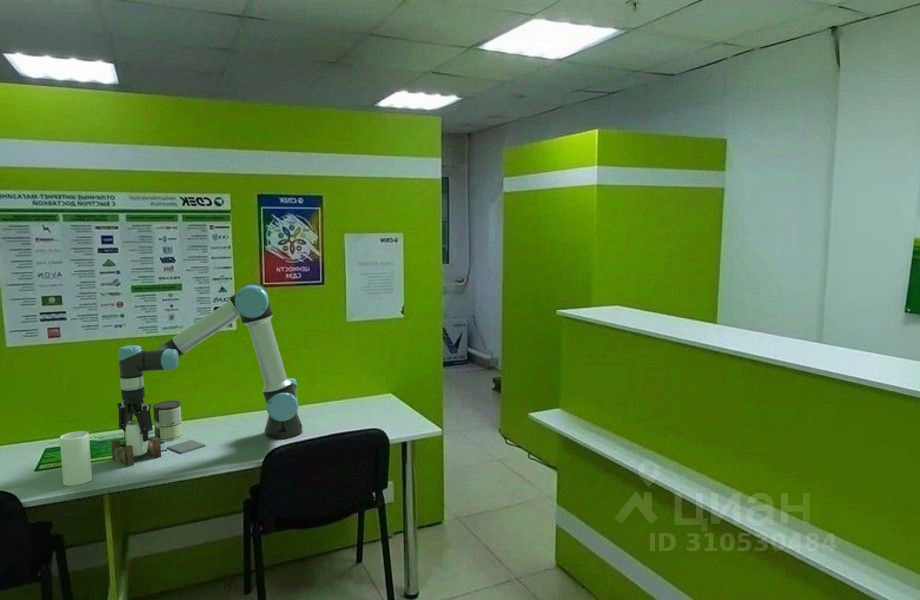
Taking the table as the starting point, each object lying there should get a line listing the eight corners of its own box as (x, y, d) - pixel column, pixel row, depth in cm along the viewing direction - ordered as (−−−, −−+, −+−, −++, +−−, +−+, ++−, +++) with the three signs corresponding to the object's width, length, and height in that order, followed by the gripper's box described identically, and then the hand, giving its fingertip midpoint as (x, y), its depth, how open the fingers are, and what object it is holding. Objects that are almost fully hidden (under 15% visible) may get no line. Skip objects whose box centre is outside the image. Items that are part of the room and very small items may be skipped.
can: (150, 450, 227) (148, 419, 226) (141, 456, 221) (138, 425, 219) (134, 450, 227) (131, 419, 226) (124, 456, 221) (121, 425, 220)
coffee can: (149, 440, 243) (146, 406, 242) (166, 432, 253) (164, 399, 252) (171, 442, 241) (169, 408, 239) (188, 434, 251) (186, 401, 250)
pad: (205, 446, 237) (205, 444, 236) (180, 453, 229) (180, 452, 228) (191, 441, 242) (191, 439, 242) (167, 448, 234) (167, 446, 234)
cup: (71, 476, 207) (68, 431, 206) (96, 475, 208) (93, 430, 206) (58, 486, 199) (54, 439, 198) (84, 485, 200) (80, 438, 198)
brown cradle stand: (161, 456, 226) (160, 438, 225) (128, 466, 216) (126, 447, 215) (145, 450, 233) (144, 432, 232) (112, 459, 223) (111, 441, 222)
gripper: (161, 387, 222) (165, 447, 224) (121, 383, 228) (126, 442, 231) (144, 392, 215) (149, 454, 217) (103, 388, 221) (108, 449, 224)
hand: (137, 448), depth 224 cm, fingers closed on can, 6 cm apart
